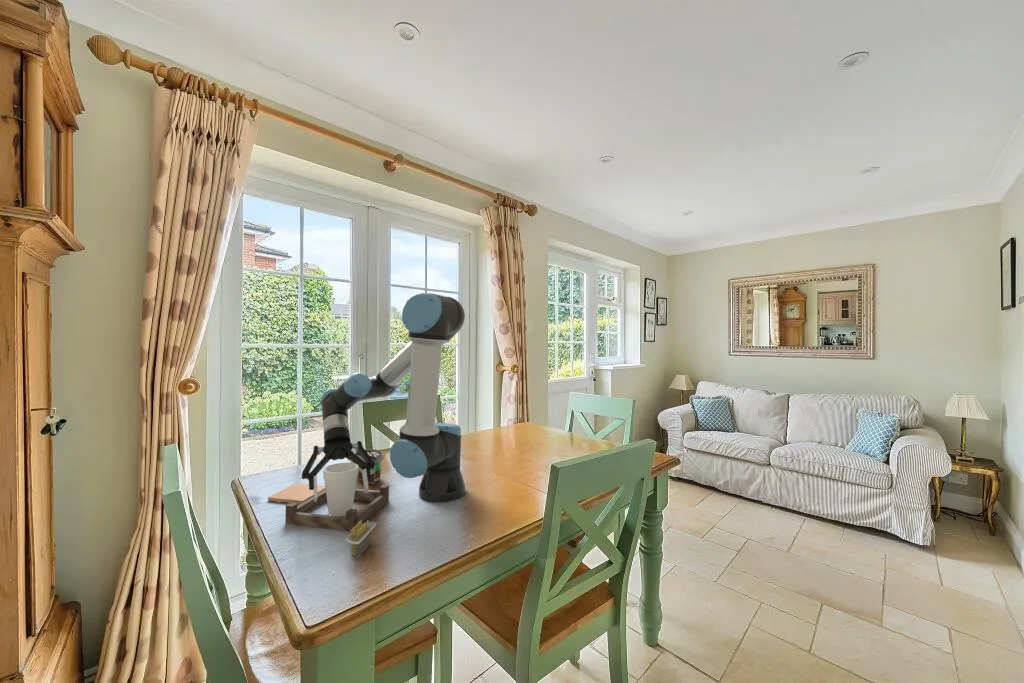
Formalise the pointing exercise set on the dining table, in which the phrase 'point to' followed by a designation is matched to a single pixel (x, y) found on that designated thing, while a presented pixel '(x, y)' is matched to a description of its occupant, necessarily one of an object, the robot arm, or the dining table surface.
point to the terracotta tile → (295, 494)
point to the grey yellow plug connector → (360, 537)
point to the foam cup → (340, 487)
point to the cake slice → (375, 472)
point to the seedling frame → (303, 518)
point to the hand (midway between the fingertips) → (342, 495)
